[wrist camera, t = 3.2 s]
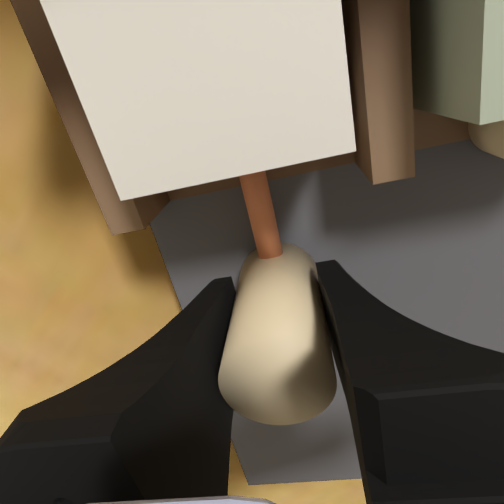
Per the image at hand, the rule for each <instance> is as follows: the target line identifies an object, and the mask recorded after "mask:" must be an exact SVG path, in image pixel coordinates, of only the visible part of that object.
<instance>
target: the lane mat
mask: <svg viewBox="0 0 504 504" xmlns="http://www.w3.org/2000/svg"><path fill="white" fill-rule="evenodd" d="M414 154H415V177H410V178H405V179H400V180H395V181H390V182H385V183H380V184H374V185H373V184H372V183H371V181H370V180H369V179H368V178H367V177H366V175H365V174H364V173H363V172H362V171H361V169H360V168H359V167H358V166H357V165H356V163H351V164H346V165H342V166H337V167H332V168H327V169H322V170H317V171H312V172H308V173H303V174H298V175H293V176H288V177H283V178H279V179H274V180H269V181H268V185H269V190H270V194H271V199H272V204H273V208H274V213H275V218H276V223H277V227H278V232H279V237H280V241H281V242H282V243H289V244H292V245H295V246H298V247H299V248H301V249H303V250H304V251H306V252H307V253H308V254H309V255H310V256H311V258H312V259H313V261H314V262H315V264H316V262H322V261H328V260H334V259H335V260H336V261H337V262H339V264H340V265H341V266H342V267H343V268H344V270H345V271H346V272H347V273H348V274H349V275H350V276H351V277H352V278H353V279H354V280H355V281H357V282H358V283H359V284H360V285H361V286H362V287H363V288H365V289H366V290H367V291H368V292H369V293H371V294H372V295H373V296H375V297H376V298H377V299H379V300H380V301H381V302H383V303H384V304H386V305H387V306H389V307H390V308H392V309H394V310H395V311H397V312H399V313H400V314H402V315H404V316H406V317H408V318H410V319H411V320H413V321H416V322H418V323H420V324H422V325H424V326H426V327H428V328H431V329H433V330H435V331H438V332H440V333H443V334H445V335H448V336H451V337H453V338H456V339H459V340H462V341H465V342H467V343H470V344H473V345H477V346H480V347H484V348H488V349H491V350H495V351H498V352H502V353H504V159H503V158H500V157H497V156H495V155H492V154H489V153H487V152H484V151H482V150H480V149H479V148H477V147H476V146H475V145H474V143H473V142H472V140H471V139H468V140H463V141H458V142H453V143H448V144H443V145H439V146H434V147H429V148H424V149H419V150H414ZM150 226H151V228H152V231H153V234H154V236H155V239H156V242H157V244H158V247H159V250H160V252H161V255H162V257H163V260H164V263H165V265H166V268H167V271H168V273H169V276H170V279H171V281H172V284H173V286H174V289H175V292H176V294H177V297H178V300H179V302H180V305H181V308H182V310H183V309H184V308H185V307H186V306H187V305H188V304H189V303H190V302H191V301H192V300H193V299H194V298H195V297H196V296H197V295H198V294H199V293H200V292H201V291H202V290H203V289H204V288H205V287H206V286H207V285H208V284H209V283H210V282H211V281H212V280H214V279H217V278H223V277H230V276H231V277H232V281H233V284H234V287H235V291H237V286H238V282H239V277H240V272H241V268H242V265H243V263H244V261H245V259H246V258H247V256H248V255H249V254H250V253H251V252H252V251H254V250H255V249H257V247H256V243H255V239H254V235H253V231H252V227H251V223H250V219H249V215H248V211H247V207H246V203H245V199H244V195H243V191H242V187H241V186H240V187H235V188H230V189H225V190H220V191H215V192H211V193H206V194H201V195H196V196H191V197H186V198H182V199H177V200H172V201H169V203H168V204H167V205H166V206H165V207H164V208H163V209H162V210H161V211H160V213H159V214H158V215H157V216H156V217H155V218H154V219H153V220H152V221H151V223H150ZM331 350H332V349H331ZM332 355H333V353H332ZM333 361H334V367H335V372H336V378H337V390H336V394H335V397H334V399H333V401H332V402H331V404H330V405H329V406H328V407H327V408H326V409H325V410H324V411H323V412H322V413H320V414H319V415H317V416H316V417H314V418H312V419H310V420H307V421H305V422H302V423H297V424H292V425H270V424H264V423H259V422H256V421H253V420H251V419H248V418H246V417H244V416H242V415H241V414H239V413H238V412H236V411H235V410H234V412H233V419H232V429H231V440H232V442H233V445H234V448H235V450H236V453H237V456H238V458H239V461H240V463H241V466H242V469H243V471H244V474H245V477H246V479H247V482H248V485H259V484H276V483H293V482H310V481H327V480H345V479H362V477H361V471H360V466H359V461H358V456H357V450H356V445H355V440H354V435H353V429H352V424H351V419H350V414H349V409H348V405H347V401H346V397H345V394H344V391H343V387H342V384H341V380H340V377H339V373H338V370H337V367H336V363H335V360H334V356H333Z"/></svg>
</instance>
